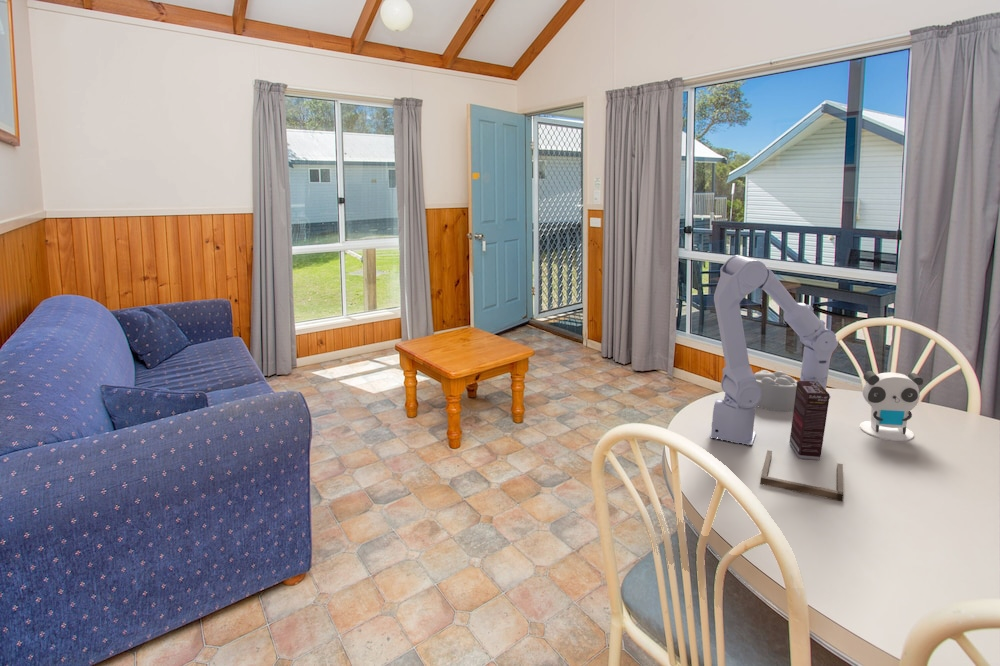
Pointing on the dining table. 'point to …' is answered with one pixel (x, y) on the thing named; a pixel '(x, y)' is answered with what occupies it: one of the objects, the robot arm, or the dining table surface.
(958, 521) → the dining table surface
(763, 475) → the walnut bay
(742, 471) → the dining table surface
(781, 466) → the dining table surface
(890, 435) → the panda figurine
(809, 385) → the supplement box
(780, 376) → the lumpy-topped squat cylinder
